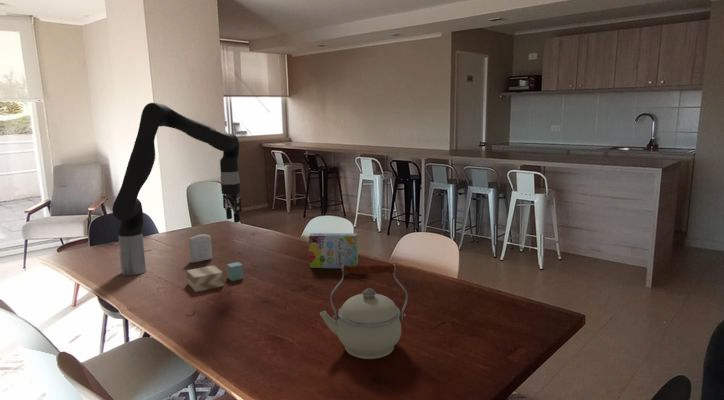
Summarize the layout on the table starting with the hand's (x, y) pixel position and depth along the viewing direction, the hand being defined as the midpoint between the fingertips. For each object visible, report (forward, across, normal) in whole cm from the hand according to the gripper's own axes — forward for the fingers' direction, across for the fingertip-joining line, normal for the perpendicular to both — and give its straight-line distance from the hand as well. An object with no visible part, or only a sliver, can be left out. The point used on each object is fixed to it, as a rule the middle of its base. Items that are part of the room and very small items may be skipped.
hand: (233, 220), depth 193 cm
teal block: (+24, +5, -3) cm, 24 cm away
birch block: (+24, +5, -15) cm, 28 cm away
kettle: (+24, +85, +4) cm, 88 cm away
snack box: (+24, +18, +38) cm, 48 cm away
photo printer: (+24, -30, -6) cm, 38 cm away
